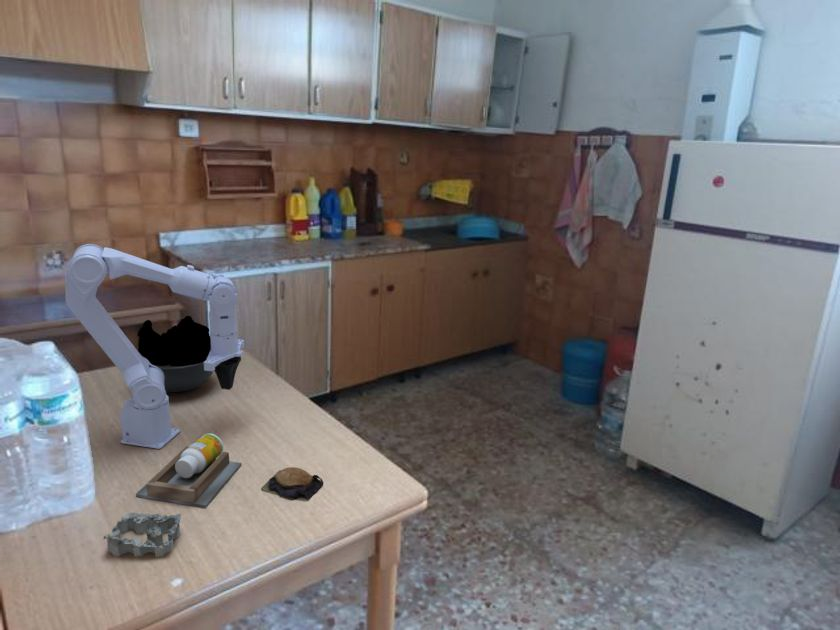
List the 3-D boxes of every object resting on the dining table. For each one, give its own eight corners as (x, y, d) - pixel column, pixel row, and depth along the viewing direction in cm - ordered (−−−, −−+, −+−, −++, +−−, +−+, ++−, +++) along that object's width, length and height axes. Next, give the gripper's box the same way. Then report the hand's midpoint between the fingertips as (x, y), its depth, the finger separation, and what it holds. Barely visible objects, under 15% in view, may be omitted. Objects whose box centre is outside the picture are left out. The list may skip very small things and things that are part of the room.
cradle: (136, 496, 109) (134, 482, 108) (179, 456, 122) (177, 443, 121) (205, 508, 107) (204, 493, 106) (241, 465, 120) (240, 452, 119)
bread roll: (258, 493, 113) (257, 477, 111) (281, 470, 120) (281, 455, 119) (306, 507, 109) (306, 490, 108) (327, 482, 117) (327, 467, 116)
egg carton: (102, 558, 94) (98, 537, 92) (124, 527, 101) (121, 507, 100) (168, 560, 94) (166, 540, 93) (185, 530, 101) (184, 510, 100)
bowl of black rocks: (236, 379, 159) (233, 314, 153) (189, 411, 140) (183, 339, 134) (173, 367, 163) (168, 304, 158) (120, 397, 145) (112, 326, 139)
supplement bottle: (223, 458, 121) (196, 484, 112) (201, 452, 122) (171, 477, 114) (224, 436, 120) (196, 460, 111) (201, 430, 121) (171, 454, 112)
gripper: (224, 345, 120) (227, 404, 124) (255, 323, 133) (257, 377, 138) (193, 341, 121) (197, 400, 125) (226, 320, 134) (229, 373, 139)
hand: (226, 388), depth 131 cm, fingers closed
